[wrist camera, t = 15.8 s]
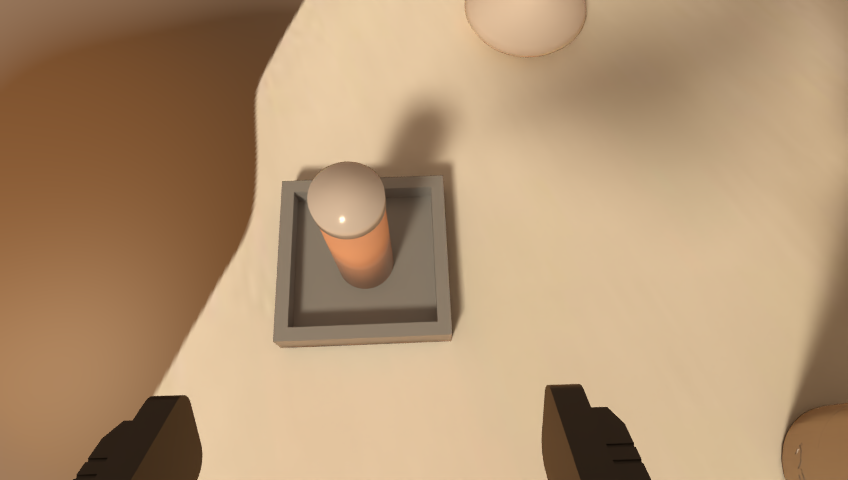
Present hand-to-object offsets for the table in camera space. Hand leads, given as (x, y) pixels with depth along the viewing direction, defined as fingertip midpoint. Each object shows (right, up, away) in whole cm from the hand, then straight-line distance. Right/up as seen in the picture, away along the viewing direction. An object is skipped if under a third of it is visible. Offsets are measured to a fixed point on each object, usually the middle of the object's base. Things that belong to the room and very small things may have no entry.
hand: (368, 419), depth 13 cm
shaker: (-3, +2, +32) cm, 32 cm away
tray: (-3, +2, +33) cm, 33 cm away
